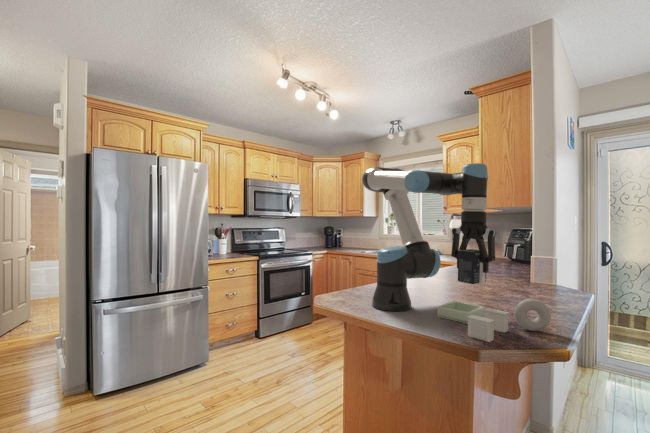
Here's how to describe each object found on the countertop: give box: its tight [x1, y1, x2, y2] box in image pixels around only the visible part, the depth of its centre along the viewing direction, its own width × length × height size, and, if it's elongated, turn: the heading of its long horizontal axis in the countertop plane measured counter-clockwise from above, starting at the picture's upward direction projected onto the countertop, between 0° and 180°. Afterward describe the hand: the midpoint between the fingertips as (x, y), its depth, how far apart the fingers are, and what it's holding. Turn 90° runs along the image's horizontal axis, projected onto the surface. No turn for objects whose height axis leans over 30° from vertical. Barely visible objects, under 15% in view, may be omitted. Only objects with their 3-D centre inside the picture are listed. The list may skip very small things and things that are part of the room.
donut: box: [513, 298, 552, 332], centre depth 96 cm, size 10×4×10 cm, turn 78°
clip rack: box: [467, 307, 510, 343], centre depth 93 cm, size 6×16×6 cm, turn 132°
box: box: [457, 248, 487, 285], centre depth 102 cm, size 8×6×11 cm
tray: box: [436, 300, 486, 325], centre depth 109 cm, size 11×13×4 cm
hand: (471, 280), depth 102 cm, fingers closed on box, 6 cm apart
